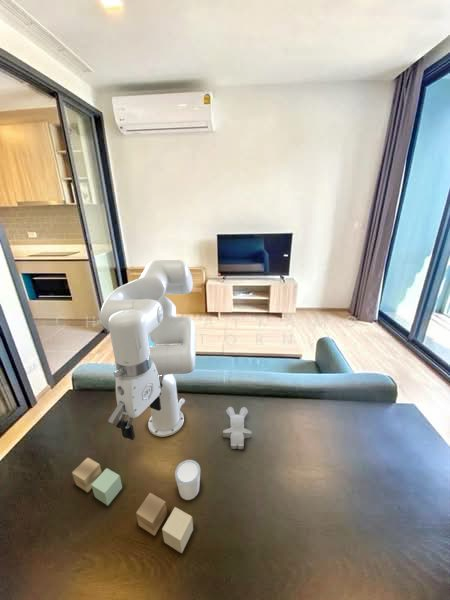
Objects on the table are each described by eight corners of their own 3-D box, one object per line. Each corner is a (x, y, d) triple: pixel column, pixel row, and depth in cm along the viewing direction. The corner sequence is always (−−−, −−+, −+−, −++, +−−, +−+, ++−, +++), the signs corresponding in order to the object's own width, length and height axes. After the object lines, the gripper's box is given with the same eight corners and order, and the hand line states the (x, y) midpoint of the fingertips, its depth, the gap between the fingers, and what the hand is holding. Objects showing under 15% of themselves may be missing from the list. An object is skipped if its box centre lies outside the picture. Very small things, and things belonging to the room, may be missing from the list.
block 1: (91, 469, 75) (87, 457, 73) (102, 476, 73) (99, 464, 71) (75, 484, 71) (71, 472, 69) (87, 492, 69) (83, 480, 67)
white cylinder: (197, 505, 66) (195, 487, 63) (172, 499, 67) (170, 481, 64) (204, 478, 72) (203, 461, 69) (182, 474, 73) (180, 457, 71)
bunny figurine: (222, 442, 78) (224, 402, 92) (222, 452, 81) (224, 412, 94) (252, 443, 78) (250, 403, 91) (251, 452, 80) (249, 412, 94)
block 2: (109, 480, 72) (106, 467, 70) (122, 487, 70) (119, 475, 68) (94, 497, 68) (91, 484, 66) (107, 505, 66) (104, 493, 64)
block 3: (152, 505, 66) (149, 492, 64) (167, 514, 64) (165, 501, 62) (138, 525, 61) (135, 512, 60) (154, 536, 59) (152, 523, 58)
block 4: (176, 519, 63) (174, 506, 61) (193, 529, 61) (192, 516, 59) (163, 542, 58) (161, 529, 57) (181, 553, 56) (180, 540, 55)
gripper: (116, 392, 48) (129, 457, 53) (170, 348, 63) (175, 403, 68) (89, 382, 51) (104, 444, 56) (146, 342, 65) (153, 395, 71)
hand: (143, 421), depth 62 cm, fingers open, 9 cm apart
